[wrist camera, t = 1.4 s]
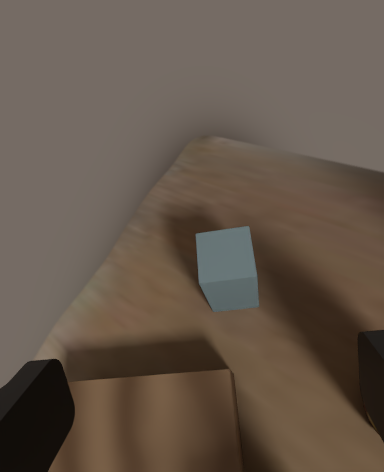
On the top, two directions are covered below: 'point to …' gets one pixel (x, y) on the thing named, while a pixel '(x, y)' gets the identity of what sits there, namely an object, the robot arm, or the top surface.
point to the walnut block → (154, 425)
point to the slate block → (227, 269)
